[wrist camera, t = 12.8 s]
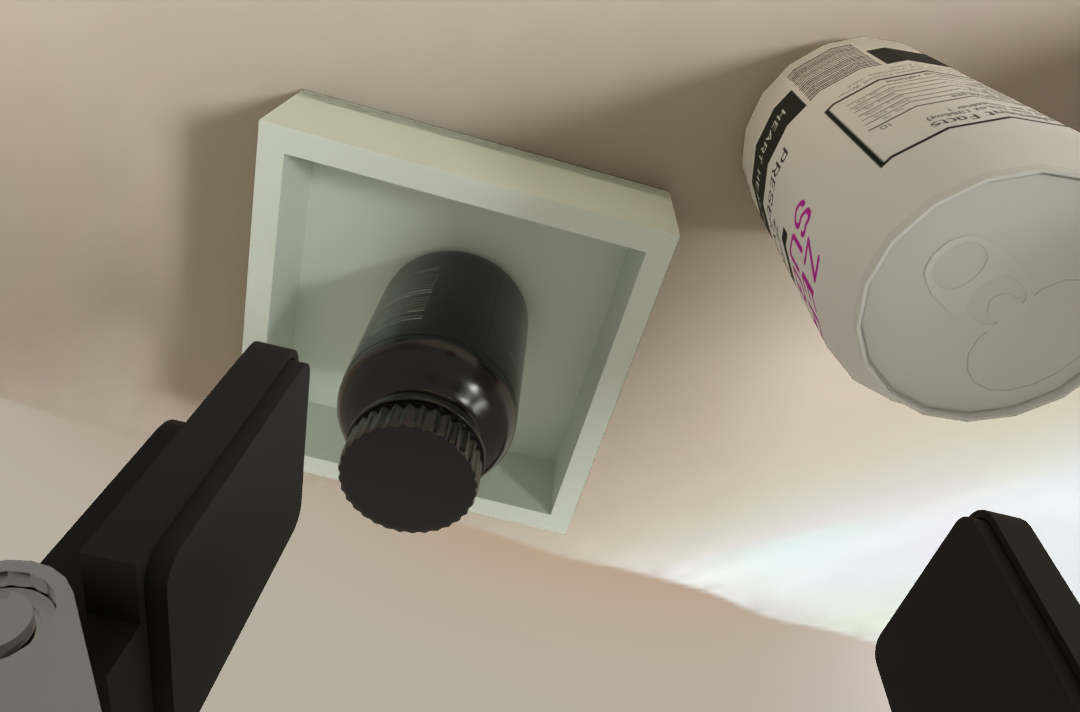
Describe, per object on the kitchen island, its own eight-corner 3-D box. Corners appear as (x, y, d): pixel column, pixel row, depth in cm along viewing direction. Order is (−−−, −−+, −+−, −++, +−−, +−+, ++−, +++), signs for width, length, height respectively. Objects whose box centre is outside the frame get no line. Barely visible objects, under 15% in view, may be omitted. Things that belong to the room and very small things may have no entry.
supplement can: (988, 125, 32) (1258, 287, 19) (829, 268, 35) (963, 486, 22) (854, -14, 29) (1055, 63, 17) (698, 154, 33) (764, 325, 20)
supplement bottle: (387, 368, 38) (310, 545, 28) (382, 238, 35) (292, 386, 24) (527, 381, 38) (501, 564, 28) (536, 252, 35) (511, 407, 24)
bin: (669, 191, 34) (680, 236, 30) (568, 468, 42) (565, 534, 38) (303, 89, 33) (258, 119, 28) (272, 395, 41) (234, 455, 36)
